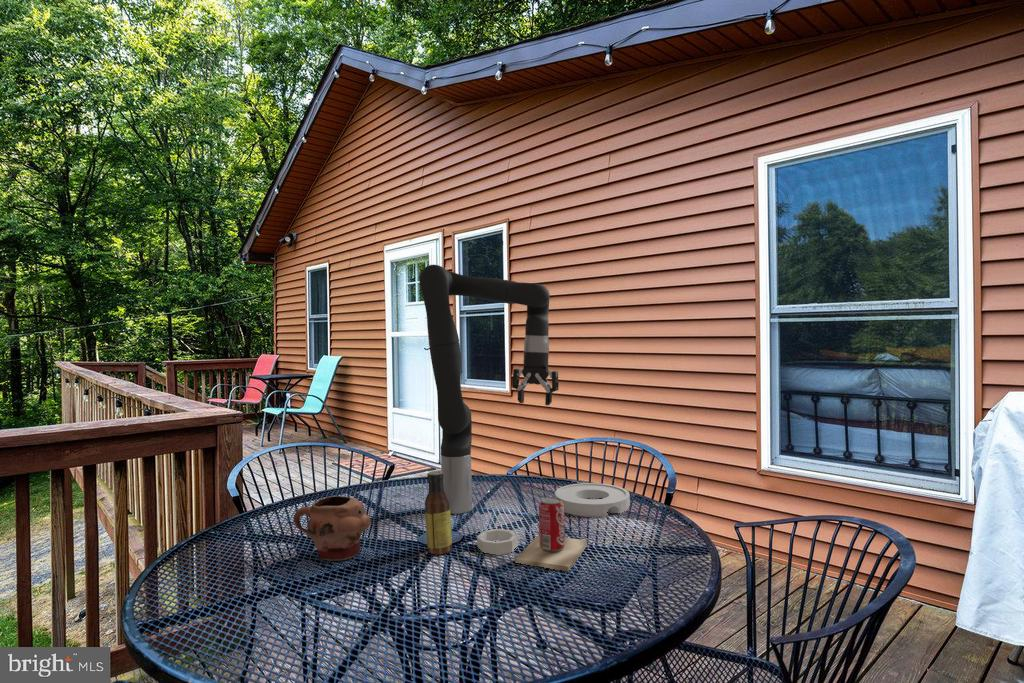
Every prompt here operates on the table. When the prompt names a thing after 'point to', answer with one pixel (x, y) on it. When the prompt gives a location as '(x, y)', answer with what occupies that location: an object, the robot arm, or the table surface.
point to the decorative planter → (335, 526)
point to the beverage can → (551, 524)
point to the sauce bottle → (437, 516)
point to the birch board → (552, 555)
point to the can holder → (499, 548)
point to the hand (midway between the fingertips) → (534, 404)
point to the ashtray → (579, 505)
